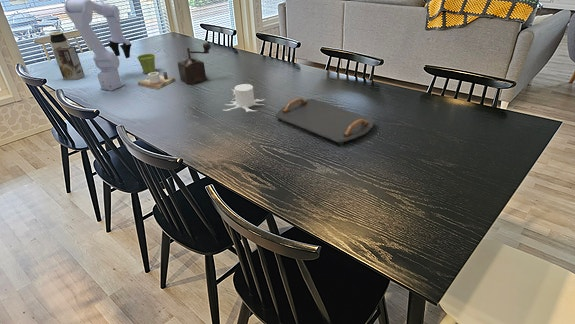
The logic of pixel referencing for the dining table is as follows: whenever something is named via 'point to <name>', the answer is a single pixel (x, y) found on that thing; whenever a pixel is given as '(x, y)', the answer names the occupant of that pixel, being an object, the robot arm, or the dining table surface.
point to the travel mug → (58, 39)
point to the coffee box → (68, 62)
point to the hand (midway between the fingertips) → (122, 56)
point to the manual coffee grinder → (193, 68)
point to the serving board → (325, 119)
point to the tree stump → (244, 97)
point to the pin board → (164, 81)
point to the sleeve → (154, 78)
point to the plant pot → (147, 62)
